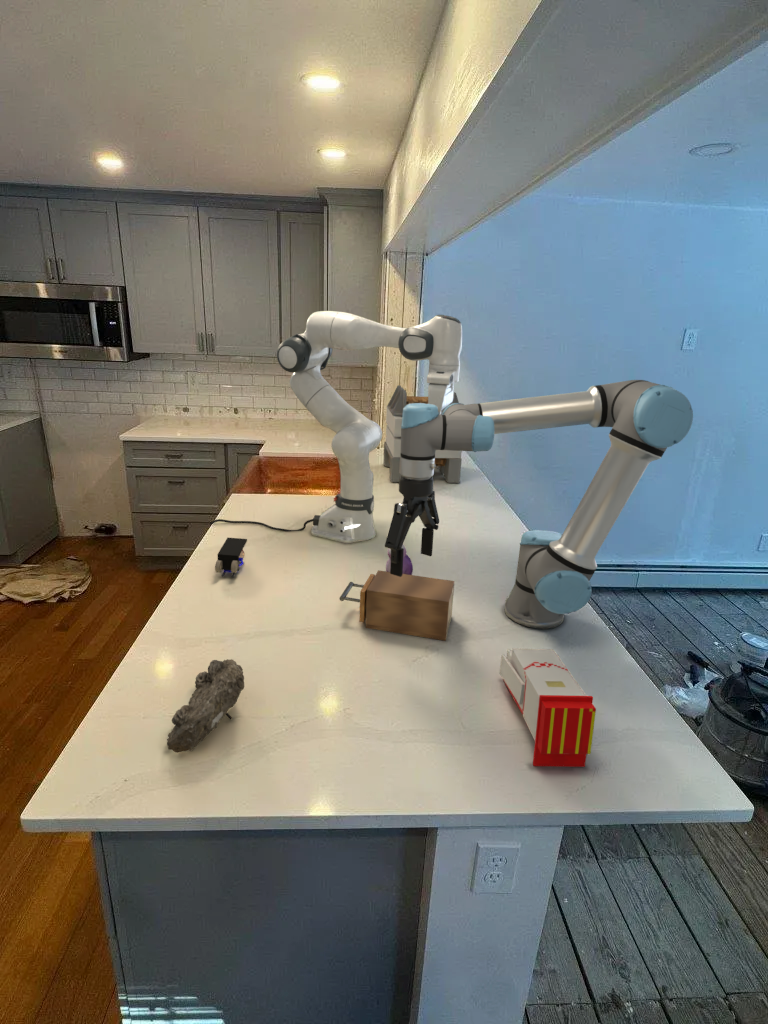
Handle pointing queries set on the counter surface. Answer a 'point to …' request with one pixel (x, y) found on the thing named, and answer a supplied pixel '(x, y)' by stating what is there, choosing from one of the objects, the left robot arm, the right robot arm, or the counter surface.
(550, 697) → the toy
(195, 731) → the fossil
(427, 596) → the cabinet
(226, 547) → the black toy rover
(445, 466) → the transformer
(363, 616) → the drawer
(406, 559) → the figurine
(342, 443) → the left robot arm
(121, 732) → the counter surface
